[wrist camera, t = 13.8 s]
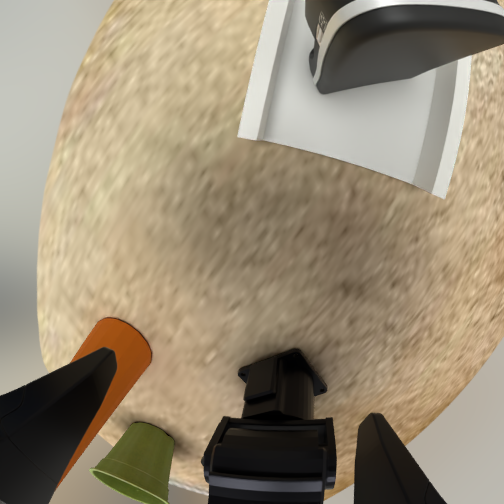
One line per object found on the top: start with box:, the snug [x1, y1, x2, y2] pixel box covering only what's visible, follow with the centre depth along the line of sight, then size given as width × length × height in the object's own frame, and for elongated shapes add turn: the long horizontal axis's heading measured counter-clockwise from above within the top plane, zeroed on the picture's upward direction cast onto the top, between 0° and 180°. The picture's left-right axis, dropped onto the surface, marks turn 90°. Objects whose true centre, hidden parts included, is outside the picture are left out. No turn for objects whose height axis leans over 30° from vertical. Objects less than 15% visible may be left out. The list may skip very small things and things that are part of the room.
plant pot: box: [89, 422, 175, 504], centre depth 29 cm, size 12×12×11 cm
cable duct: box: [237, 0, 472, 199], centre depth 12 cm, size 14×12×4 cm
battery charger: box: [305, 0, 504, 94], centre depth 8 cm, size 7×4×11 cm, turn 109°
